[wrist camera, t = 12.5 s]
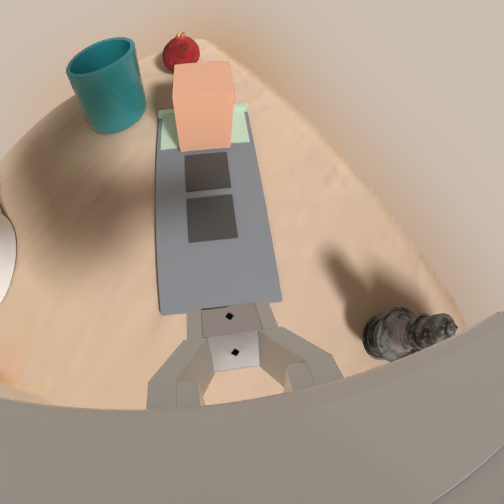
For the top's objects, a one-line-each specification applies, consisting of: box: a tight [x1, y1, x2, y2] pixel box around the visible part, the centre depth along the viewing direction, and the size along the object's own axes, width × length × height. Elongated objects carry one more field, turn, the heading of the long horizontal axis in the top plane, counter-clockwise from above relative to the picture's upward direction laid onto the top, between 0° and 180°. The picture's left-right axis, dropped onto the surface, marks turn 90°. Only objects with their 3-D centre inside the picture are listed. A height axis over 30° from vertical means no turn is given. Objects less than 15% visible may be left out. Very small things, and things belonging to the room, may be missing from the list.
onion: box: [163, 32, 200, 71], centre depth 34 cm, size 6×6×8 cm
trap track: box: [156, 103, 282, 315], centre depth 30 cm, size 12×26×2 cm, turn 8°
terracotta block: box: [172, 61, 235, 152], centre depth 29 cm, size 6×6×9 cm
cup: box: [66, 37, 147, 134], centre depth 29 cm, size 9×12×11 cm
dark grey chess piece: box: [363, 307, 458, 362], centre depth 23 cm, size 6×6×12 cm
